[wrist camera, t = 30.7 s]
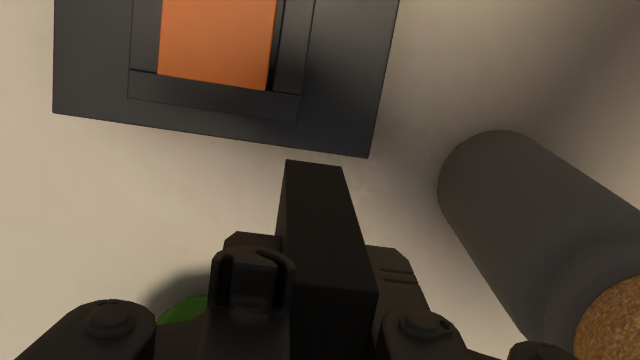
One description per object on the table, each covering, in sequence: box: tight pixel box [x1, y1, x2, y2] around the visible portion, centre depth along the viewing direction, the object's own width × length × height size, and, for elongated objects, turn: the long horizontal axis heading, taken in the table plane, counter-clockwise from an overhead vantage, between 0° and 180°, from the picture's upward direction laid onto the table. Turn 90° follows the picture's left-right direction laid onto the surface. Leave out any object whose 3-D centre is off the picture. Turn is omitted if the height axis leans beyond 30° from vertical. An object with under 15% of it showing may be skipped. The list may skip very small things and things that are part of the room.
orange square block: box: [157, 0, 278, 91], centre depth 22 cm, size 4×4×2 cm
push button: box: [52, 0, 400, 159], centre depth 24 cm, size 14×10×4 cm
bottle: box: [437, 131, 640, 360], centre depth 22 cm, size 6×6×15 cm
